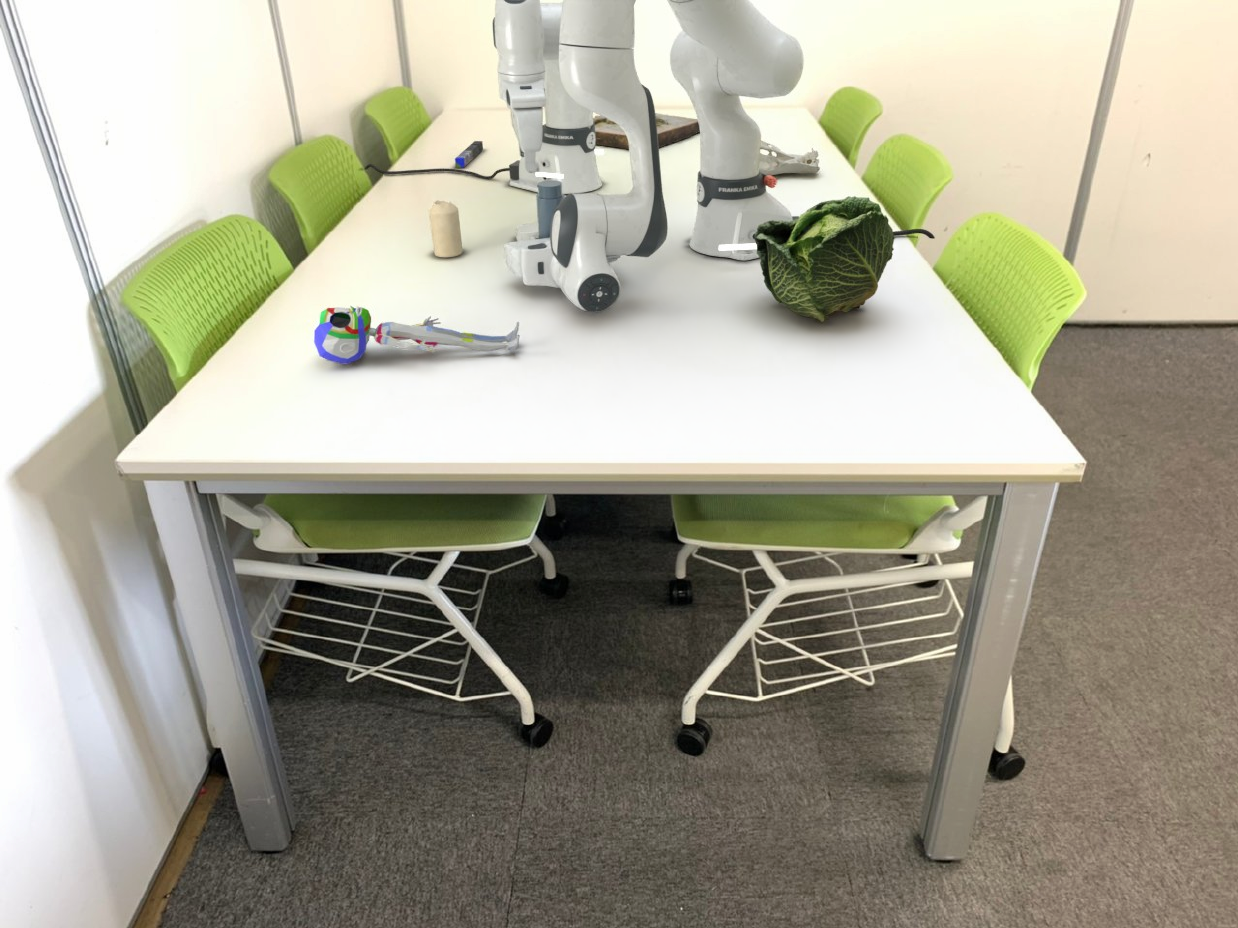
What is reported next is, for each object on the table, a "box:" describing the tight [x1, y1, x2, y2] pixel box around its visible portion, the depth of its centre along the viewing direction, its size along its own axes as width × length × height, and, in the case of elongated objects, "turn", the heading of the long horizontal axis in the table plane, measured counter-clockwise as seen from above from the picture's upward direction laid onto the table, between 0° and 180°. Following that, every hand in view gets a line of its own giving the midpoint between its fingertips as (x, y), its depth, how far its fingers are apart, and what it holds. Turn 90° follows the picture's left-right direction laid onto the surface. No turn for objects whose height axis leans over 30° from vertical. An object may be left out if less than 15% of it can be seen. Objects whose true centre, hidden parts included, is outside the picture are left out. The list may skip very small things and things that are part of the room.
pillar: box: [454, 140, 484, 169], centre depth 238 cm, size 2×2×20 cm
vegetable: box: [754, 195, 896, 323], centre depth 144 cm, size 20×19×20 cm
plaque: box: [593, 112, 700, 150], centre depth 257 cm, size 30×7×30 cm
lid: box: [515, 222, 539, 242], centre depth 181 cm, size 6×6×2 cm
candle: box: [428, 200, 464, 258], centre depth 172 cm, size 6×6×10 cm
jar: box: [535, 180, 566, 239], centre depth 163 cm, size 5×5×16 cm
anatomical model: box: [759, 140, 821, 176], centre depth 220 cm, size 15×9×25 cm
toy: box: [312, 305, 520, 365], centre depth 135 cm, size 10×8×30 cm
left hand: (527, 163), depth 173 cm, fingers open, 8 cm apart
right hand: (551, 238), depth 165 cm, fingers closed on jar, 5 cm apart
